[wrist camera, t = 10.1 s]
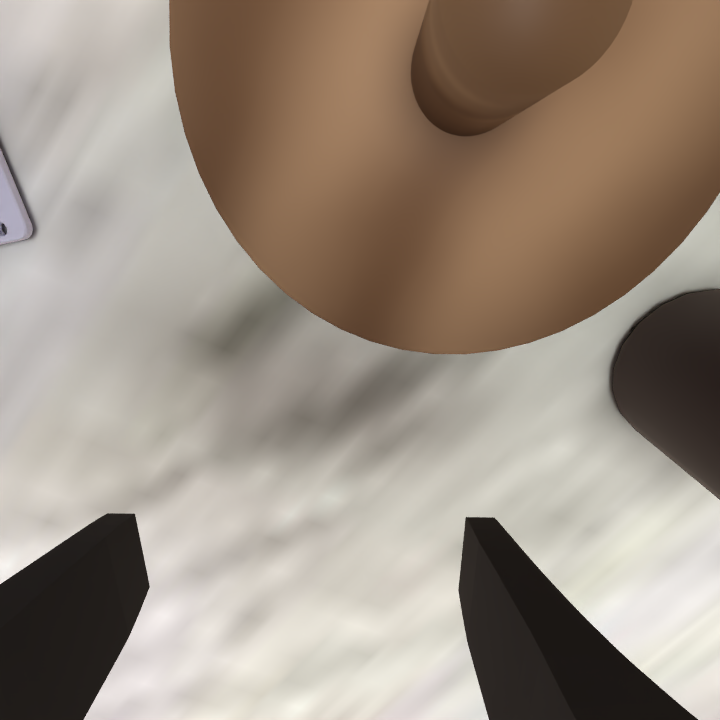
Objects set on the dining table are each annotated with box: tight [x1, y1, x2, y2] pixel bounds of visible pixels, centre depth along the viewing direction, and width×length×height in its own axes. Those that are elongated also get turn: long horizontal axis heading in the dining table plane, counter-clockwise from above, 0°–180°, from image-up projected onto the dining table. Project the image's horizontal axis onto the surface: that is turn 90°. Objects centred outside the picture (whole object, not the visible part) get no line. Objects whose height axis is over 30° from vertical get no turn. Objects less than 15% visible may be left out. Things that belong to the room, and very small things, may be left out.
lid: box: [169, 0, 720, 354], centre depth 9 cm, size 15×15×5 cm
